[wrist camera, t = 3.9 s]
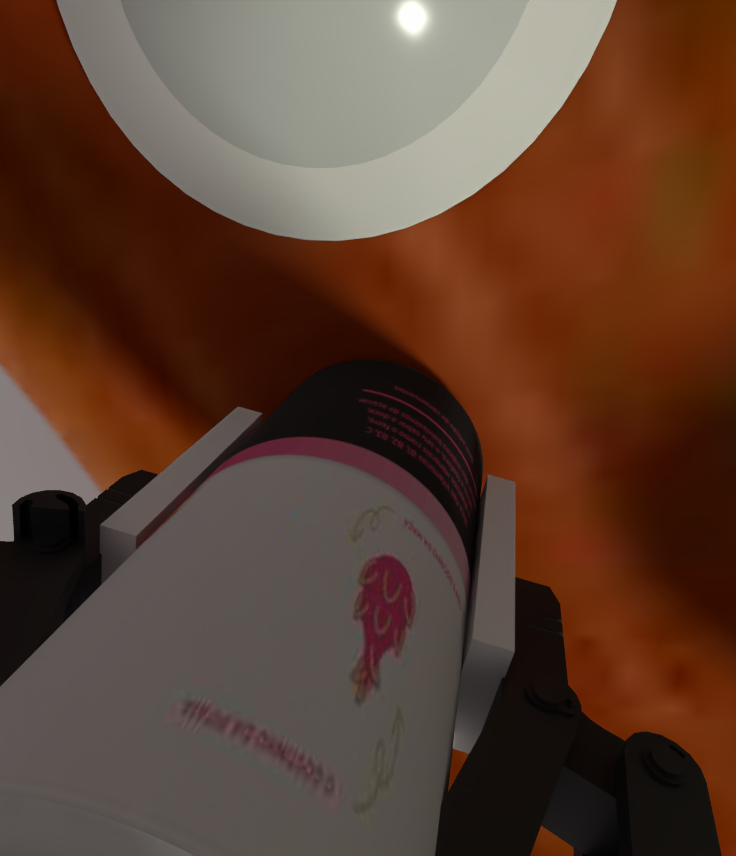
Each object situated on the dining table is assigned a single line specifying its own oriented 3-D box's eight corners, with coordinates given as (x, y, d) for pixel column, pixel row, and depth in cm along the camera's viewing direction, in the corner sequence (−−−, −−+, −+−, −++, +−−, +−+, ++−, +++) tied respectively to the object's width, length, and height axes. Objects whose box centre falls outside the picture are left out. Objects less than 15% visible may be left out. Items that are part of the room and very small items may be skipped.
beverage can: (240, 414, 20) (-333, 928, 7) (413, 314, 18) (73, 802, 4) (348, 572, 21) (62, 1259, 8) (522, 499, 19) (538, 1313, 6)
